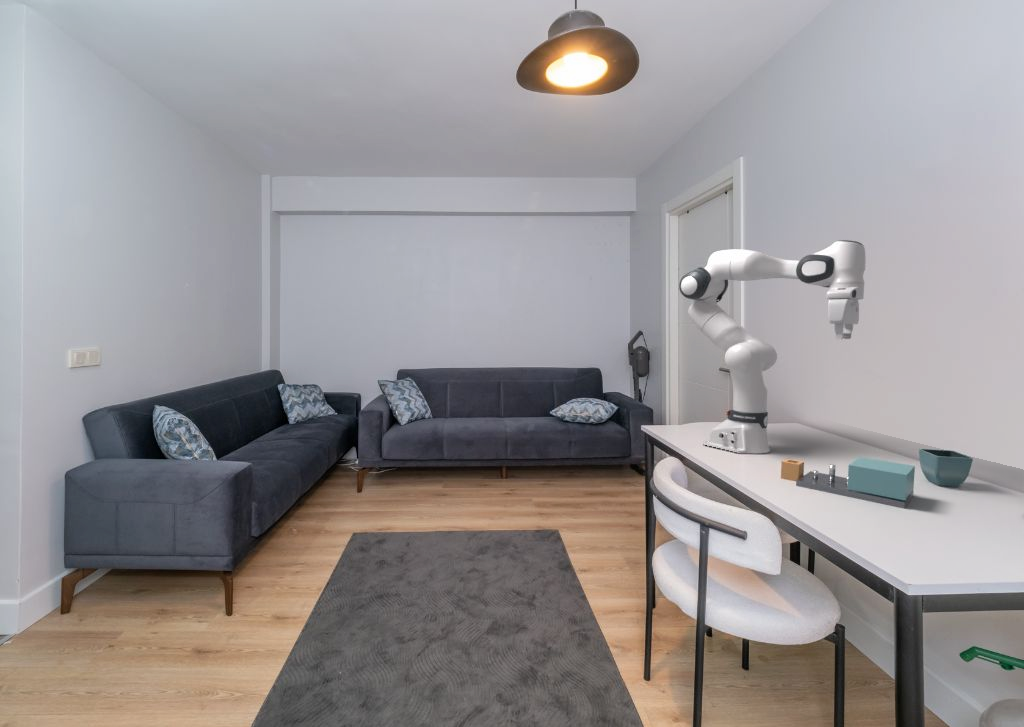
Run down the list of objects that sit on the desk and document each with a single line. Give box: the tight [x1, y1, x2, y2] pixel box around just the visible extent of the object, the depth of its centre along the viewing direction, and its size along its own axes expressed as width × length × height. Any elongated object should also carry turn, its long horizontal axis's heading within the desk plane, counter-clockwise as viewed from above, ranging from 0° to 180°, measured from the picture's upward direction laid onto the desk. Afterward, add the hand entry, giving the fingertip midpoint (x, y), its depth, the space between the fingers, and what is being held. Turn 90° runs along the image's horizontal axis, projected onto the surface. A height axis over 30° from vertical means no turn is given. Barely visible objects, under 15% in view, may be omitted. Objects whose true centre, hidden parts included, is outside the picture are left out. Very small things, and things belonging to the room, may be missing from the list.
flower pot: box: [918, 448, 974, 488], centre depth 140 cm, size 9×9×9 cm
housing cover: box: [847, 456, 916, 500], centre depth 129 cm, size 12×12×6 cm
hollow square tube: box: [780, 458, 805, 482], centre depth 145 cm, size 5×5×5 cm
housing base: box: [795, 463, 915, 509], centre depth 134 cm, size 24×13×6 cm, turn 43°
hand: (843, 339), depth 152 cm, fingers open, 8 cm apart
